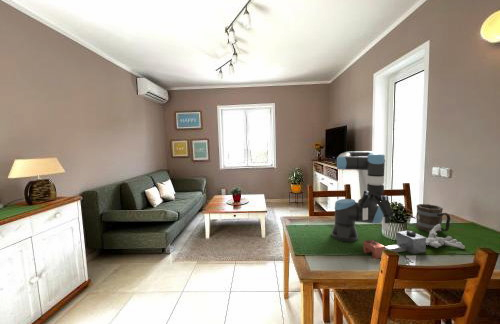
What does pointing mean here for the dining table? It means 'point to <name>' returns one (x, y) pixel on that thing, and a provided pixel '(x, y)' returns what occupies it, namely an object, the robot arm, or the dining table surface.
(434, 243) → the white irregular jagged piece
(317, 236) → the dining table surface
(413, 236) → the hitch
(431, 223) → the mug
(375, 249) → the red notched block
